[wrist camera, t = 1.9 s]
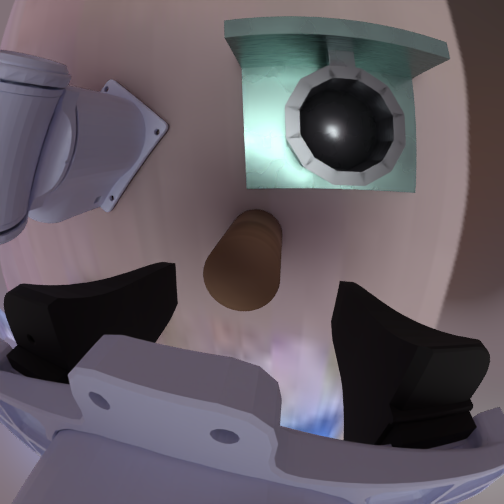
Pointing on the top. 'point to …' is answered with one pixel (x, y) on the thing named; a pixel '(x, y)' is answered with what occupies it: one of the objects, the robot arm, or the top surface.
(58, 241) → the top surface
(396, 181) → the cup bracket
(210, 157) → the top surface
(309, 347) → the top surface
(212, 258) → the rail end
